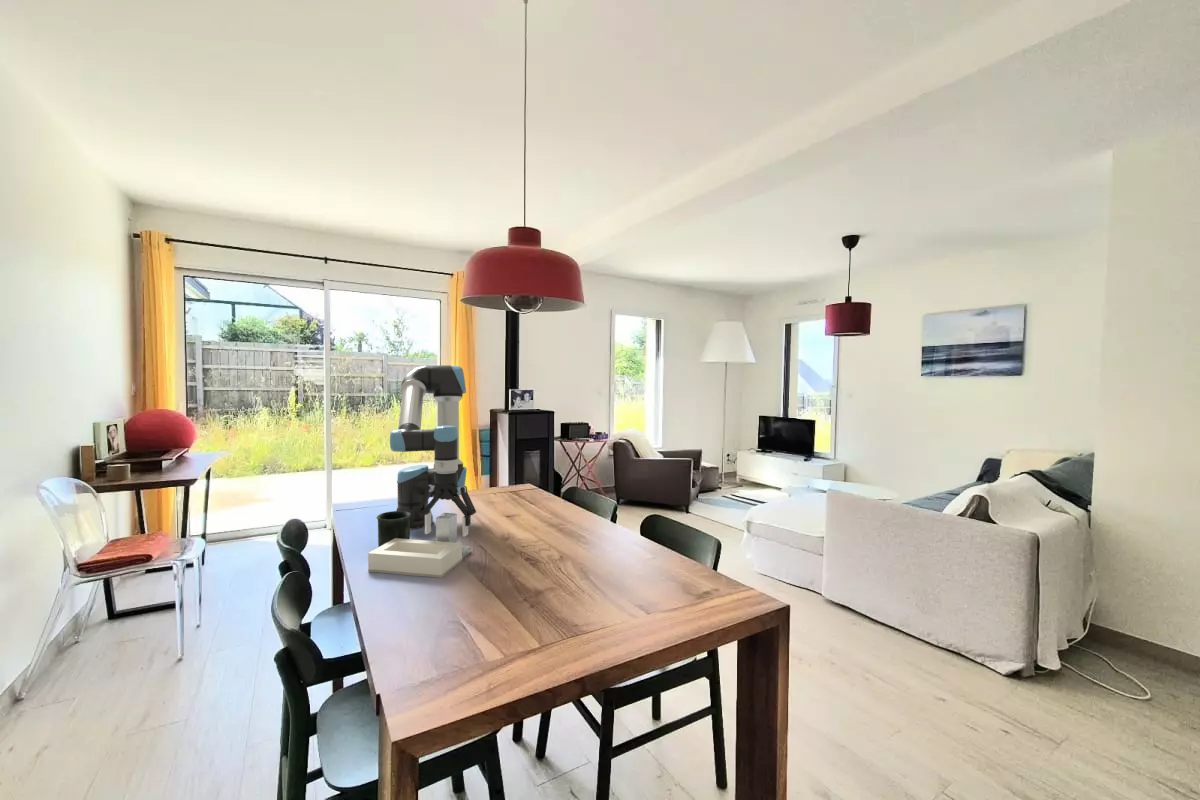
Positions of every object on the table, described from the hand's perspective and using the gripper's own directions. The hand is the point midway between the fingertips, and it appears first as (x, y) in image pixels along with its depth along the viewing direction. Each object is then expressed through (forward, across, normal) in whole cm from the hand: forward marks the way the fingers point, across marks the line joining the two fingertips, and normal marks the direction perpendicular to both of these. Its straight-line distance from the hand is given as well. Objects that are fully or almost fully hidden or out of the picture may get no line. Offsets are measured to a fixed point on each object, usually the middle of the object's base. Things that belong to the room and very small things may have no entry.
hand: (446, 534), depth 165 cm
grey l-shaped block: (+7, +2, 0) cm, 7 cm away
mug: (+7, -21, +1) cm, 22 cm away
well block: (+7, -4, -12) cm, 14 cm away
